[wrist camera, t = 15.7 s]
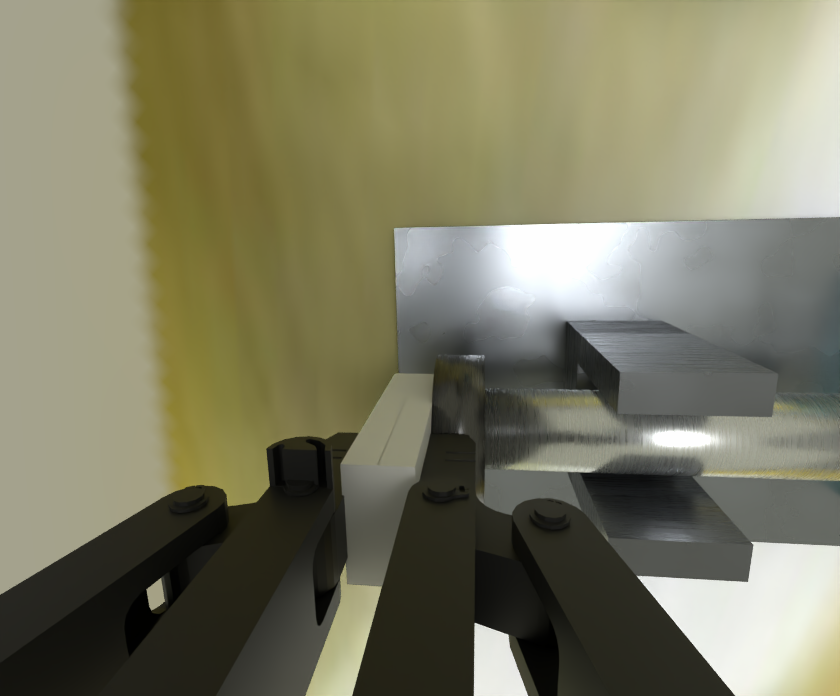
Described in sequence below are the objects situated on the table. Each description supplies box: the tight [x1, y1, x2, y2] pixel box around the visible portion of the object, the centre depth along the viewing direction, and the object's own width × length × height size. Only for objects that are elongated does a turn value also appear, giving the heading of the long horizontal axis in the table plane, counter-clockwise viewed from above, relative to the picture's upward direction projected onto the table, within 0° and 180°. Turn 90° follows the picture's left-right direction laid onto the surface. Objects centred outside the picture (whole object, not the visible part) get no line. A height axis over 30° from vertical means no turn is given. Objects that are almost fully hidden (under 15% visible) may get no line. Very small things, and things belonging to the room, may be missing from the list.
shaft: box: [431, 355, 840, 504], centre depth 14 cm, size 4×13×4 cm, turn 91°
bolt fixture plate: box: [394, 217, 840, 582], centre depth 15 cm, size 12×25×8 cm, turn 91°
